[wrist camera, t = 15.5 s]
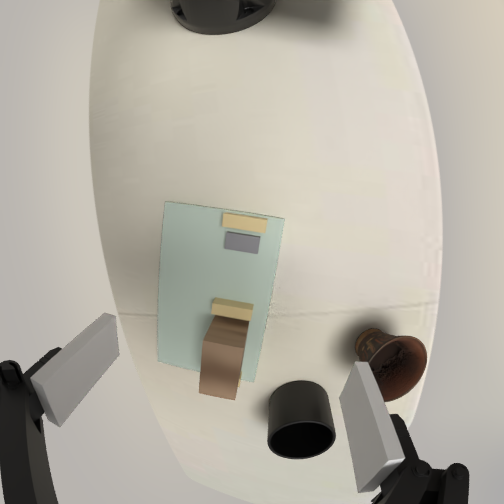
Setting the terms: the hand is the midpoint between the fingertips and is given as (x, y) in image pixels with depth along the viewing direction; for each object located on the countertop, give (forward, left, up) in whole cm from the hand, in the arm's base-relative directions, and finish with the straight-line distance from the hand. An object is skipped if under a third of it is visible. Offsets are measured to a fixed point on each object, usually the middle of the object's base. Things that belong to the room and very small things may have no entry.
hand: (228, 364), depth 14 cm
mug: (+23, +10, -23) cm, 34 cm away
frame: (+12, -2, -21) cm, 24 cm away
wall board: (+6, -5, -22) cm, 24 cm away
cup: (+8, +18, -23) cm, 30 cm away
